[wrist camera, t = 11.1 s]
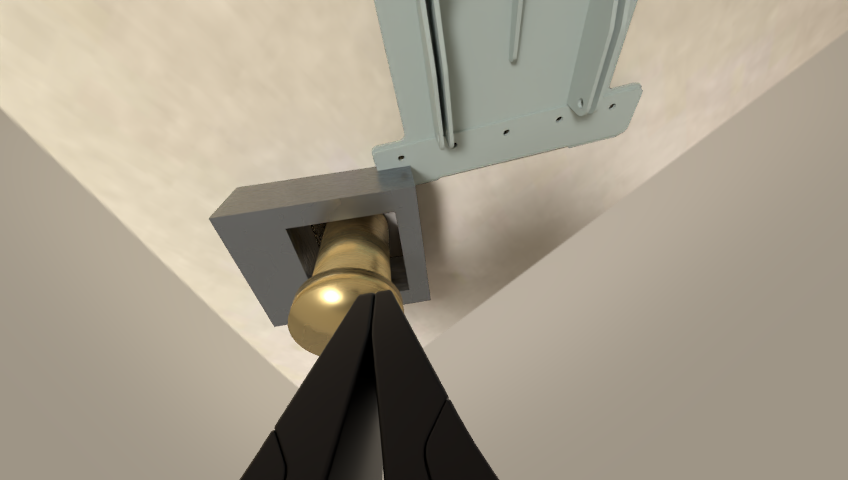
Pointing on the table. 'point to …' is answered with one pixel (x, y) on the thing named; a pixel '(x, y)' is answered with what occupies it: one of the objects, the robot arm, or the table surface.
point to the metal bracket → (501, 79)
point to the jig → (293, 236)
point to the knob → (341, 278)
